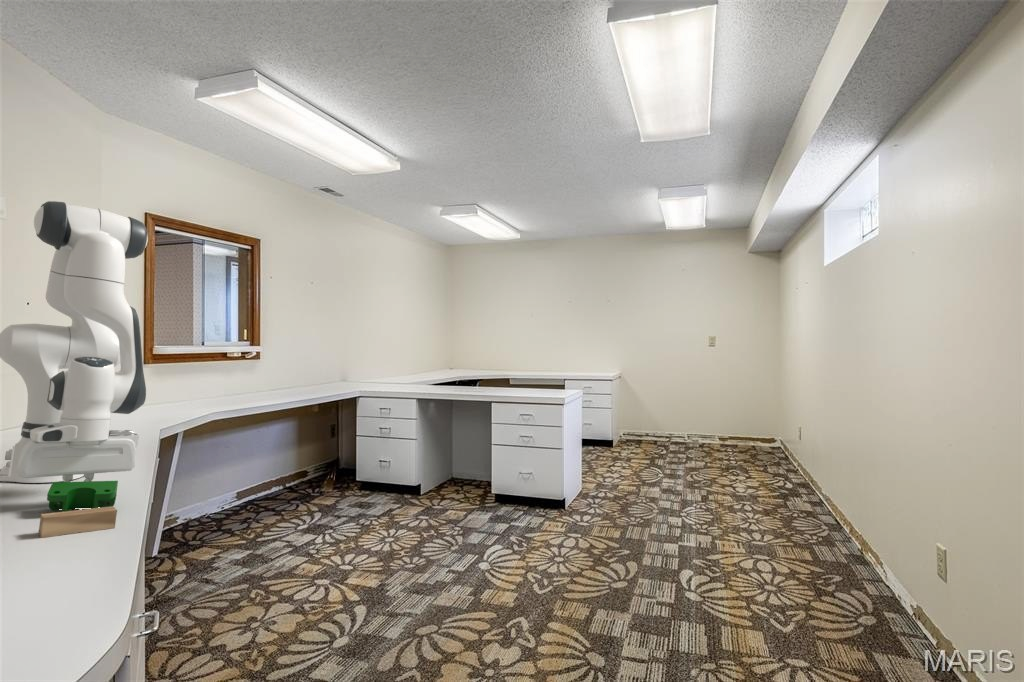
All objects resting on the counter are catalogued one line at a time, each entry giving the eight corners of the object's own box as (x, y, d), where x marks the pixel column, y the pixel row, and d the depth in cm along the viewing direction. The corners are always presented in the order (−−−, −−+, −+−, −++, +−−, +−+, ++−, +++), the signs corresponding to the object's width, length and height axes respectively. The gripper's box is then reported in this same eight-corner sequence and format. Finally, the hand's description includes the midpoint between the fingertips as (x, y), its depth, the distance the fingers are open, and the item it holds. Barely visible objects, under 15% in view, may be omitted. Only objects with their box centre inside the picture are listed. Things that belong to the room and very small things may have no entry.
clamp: (54, 535, 110) (35, 499, 107) (61, 520, 115) (42, 485, 112) (122, 511, 115) (106, 476, 112) (126, 498, 120) (110, 463, 117)
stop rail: (38, 533, 99) (40, 513, 99) (110, 523, 107) (112, 506, 107) (41, 537, 97) (44, 518, 97) (114, 527, 105) (117, 509, 105)
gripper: (135, 428, 128) (128, 486, 127) (20, 430, 112) (11, 497, 111) (143, 431, 123) (136, 492, 123) (26, 434, 108) (16, 503, 107)
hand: (75, 494), depth 117 cm, fingers closed
